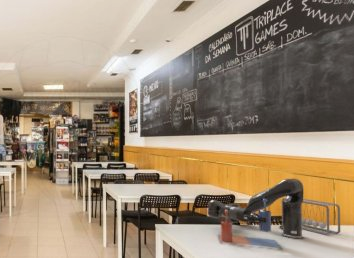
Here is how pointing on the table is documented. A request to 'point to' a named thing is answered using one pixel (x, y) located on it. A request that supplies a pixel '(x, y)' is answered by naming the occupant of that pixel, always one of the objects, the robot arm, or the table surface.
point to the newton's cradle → (316, 223)
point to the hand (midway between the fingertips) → (269, 220)
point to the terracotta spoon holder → (226, 230)
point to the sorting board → (254, 241)
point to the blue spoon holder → (265, 215)
